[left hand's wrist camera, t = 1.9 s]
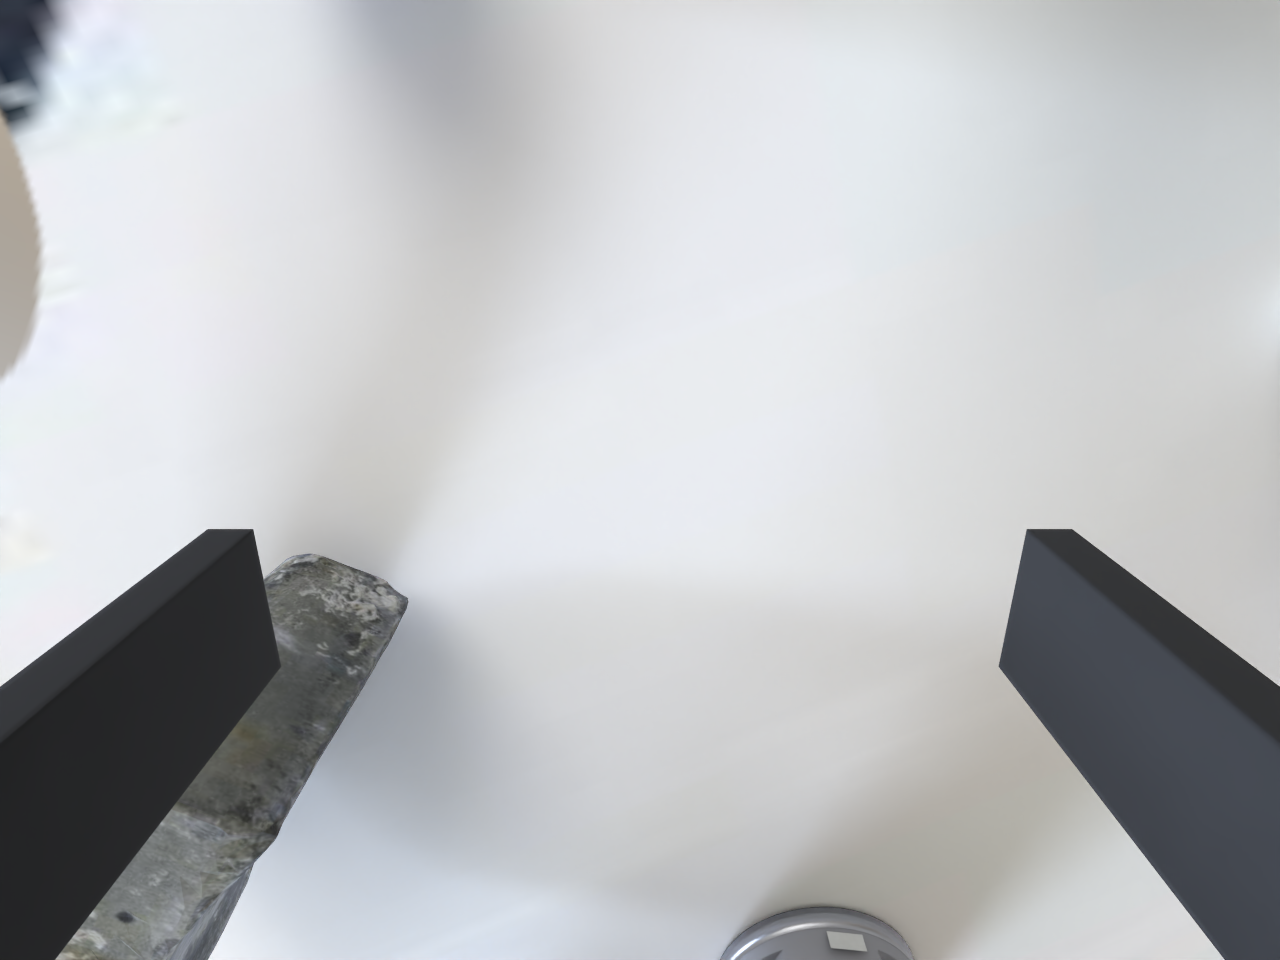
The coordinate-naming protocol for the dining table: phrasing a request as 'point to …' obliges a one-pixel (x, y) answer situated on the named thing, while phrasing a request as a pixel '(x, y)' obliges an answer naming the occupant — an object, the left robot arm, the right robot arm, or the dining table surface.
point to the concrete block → (249, 770)
